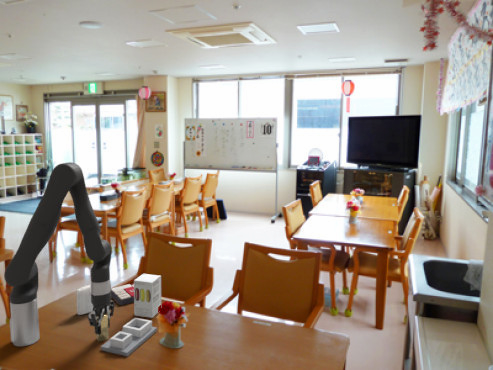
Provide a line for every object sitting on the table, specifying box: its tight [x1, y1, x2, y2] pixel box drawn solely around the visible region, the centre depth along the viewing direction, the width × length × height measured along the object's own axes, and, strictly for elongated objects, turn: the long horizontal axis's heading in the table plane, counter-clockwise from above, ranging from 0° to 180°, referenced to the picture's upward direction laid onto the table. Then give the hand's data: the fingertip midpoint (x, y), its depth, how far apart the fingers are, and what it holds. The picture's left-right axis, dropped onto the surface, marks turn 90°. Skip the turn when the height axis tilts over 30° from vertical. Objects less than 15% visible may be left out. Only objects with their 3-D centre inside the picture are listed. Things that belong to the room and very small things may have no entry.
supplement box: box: [133, 273, 162, 319], centre depth 177 cm, size 10×9×17 cm
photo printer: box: [76, 284, 93, 316], centre depth 178 cm, size 10×4×12 cm, turn 134°
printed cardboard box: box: [111, 283, 134, 306], centre depth 194 cm, size 11×4×15 cm
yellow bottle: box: [96, 313, 110, 342], centre depth 155 cm, size 4×4×12 cm
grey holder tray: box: [100, 317, 158, 357], centre depth 155 cm, size 12×20×4 cm, turn 161°
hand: (102, 330), depth 155 cm, fingers closed on yellow bottle, 4 cm apart
